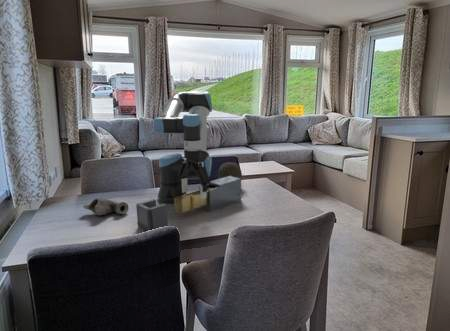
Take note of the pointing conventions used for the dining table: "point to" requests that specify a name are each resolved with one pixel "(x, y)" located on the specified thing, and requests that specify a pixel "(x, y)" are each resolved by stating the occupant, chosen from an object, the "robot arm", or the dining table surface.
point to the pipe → (106, 206)
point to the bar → (191, 201)
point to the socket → (151, 215)
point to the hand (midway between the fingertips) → (193, 195)
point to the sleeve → (223, 192)
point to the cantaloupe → (229, 170)
